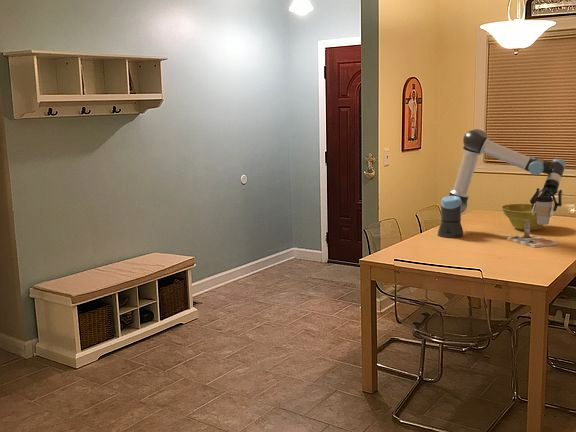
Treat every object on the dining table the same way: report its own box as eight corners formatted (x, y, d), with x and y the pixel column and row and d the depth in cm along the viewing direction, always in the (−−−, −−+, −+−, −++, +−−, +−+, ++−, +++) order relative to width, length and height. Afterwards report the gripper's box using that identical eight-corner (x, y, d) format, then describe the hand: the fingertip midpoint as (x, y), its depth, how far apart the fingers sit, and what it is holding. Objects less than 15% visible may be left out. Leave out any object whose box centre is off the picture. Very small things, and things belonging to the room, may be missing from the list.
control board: (507, 239, 365) (508, 220, 363) (529, 237, 370) (530, 218, 368) (534, 247, 344) (535, 227, 342) (557, 244, 350) (558, 224, 347)
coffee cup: (533, 224, 348) (534, 198, 346) (535, 221, 357) (536, 195, 354) (551, 225, 344) (552, 198, 341) (553, 222, 352) (554, 196, 350)
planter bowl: (563, 233, 379) (564, 211, 377) (509, 234, 380) (510, 212, 377) (543, 223, 411) (544, 203, 408) (493, 224, 411) (494, 204, 409)
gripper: (574, 188, 351) (563, 220, 342) (534, 185, 365) (523, 216, 356) (571, 179, 346) (561, 212, 337) (531, 177, 361) (520, 208, 352)
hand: (541, 214), depth 347 cm, fingers closed on coffee cup, 9 cm apart
